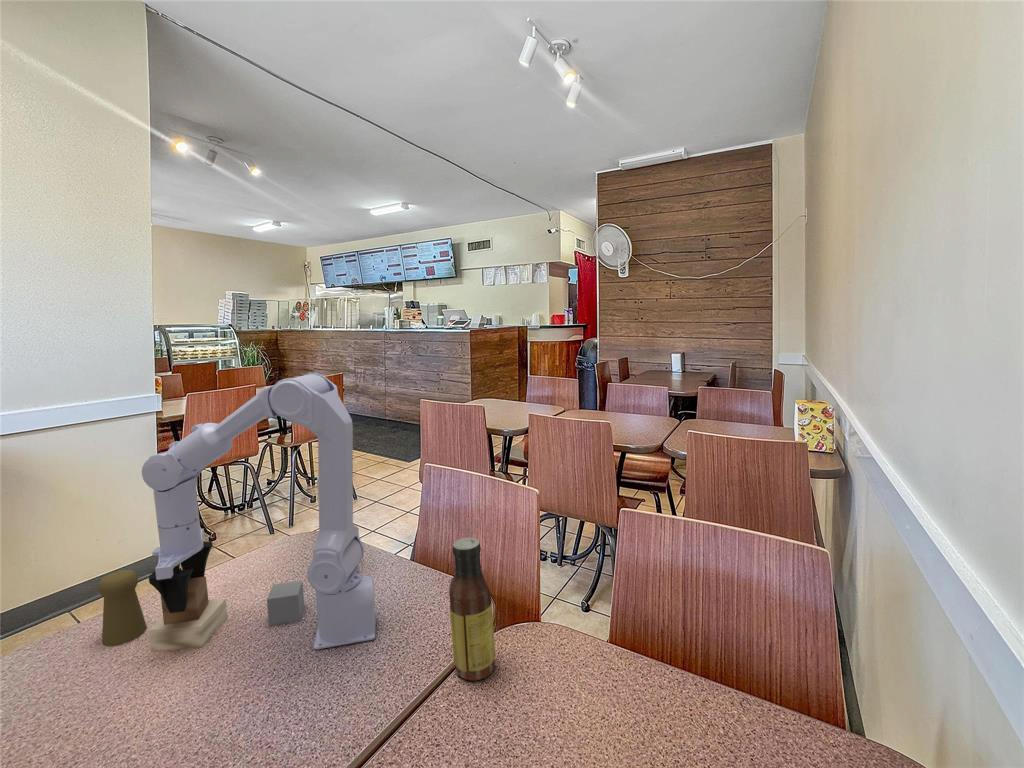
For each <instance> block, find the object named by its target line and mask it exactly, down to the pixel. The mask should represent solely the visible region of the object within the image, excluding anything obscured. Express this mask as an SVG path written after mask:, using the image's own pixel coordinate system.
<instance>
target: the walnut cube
mask: <svg viewBox="0 0 1024 768" xmlns="http://www.w3.org/2000/svg"><path fill="white" fill-rule="evenodd" d="M207 583H208V582H207V576H206V575H204V577H198V578H191V579H189V583H188V591H187V606H186V609H185V611H182V612H175V613H170V612H169V610H168V608H167V606H166V604H165V602H164V600H163V598H162V596H161V595H160V600H161V601H160V602H161V609H162V617H163V620H164V625H168V624H174V623H180V622H186V621H192V620H198V619H199V618H200V617H201V615H202V613H203V612H204V610H205V608H206V607H207V605H208V604H209V601H208V600H209V592H208V584H207Z"/></svg>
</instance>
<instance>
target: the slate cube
mask: <svg viewBox="0 0 1024 768" xmlns="http://www.w3.org/2000/svg"><path fill="white" fill-rule="evenodd" d="M266 603H267V604H266V605H267V615H268V616H267V617H268V625H269V627H272V626H278V625H283V624H288V623H289V624H290V623H296V622H300V621H301V618H302V615H303V611H304V608H305V596H304V584H303V580H297V581H290V582H288V581H287V582H284V583H277V584H272V587H271V588H270V591H269V593H268V596H267V598H266Z"/></svg>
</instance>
